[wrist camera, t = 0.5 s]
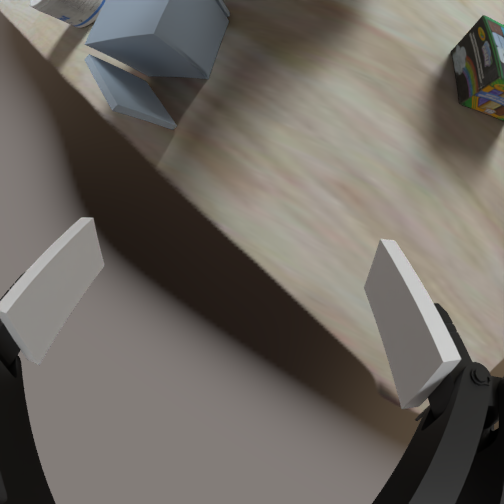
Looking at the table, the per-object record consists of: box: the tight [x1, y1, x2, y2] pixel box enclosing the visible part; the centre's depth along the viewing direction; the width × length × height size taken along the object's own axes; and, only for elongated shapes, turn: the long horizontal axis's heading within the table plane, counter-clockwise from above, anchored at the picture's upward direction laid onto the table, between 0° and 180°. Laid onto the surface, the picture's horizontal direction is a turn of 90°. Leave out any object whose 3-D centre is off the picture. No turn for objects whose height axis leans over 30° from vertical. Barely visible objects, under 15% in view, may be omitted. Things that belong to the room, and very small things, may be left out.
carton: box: [85, 0, 230, 79], centre depth 24 cm, size 11×10×14 cm
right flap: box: [84, 54, 177, 130], centre depth 27 cm, size 10×1×12 cm, turn 35°
